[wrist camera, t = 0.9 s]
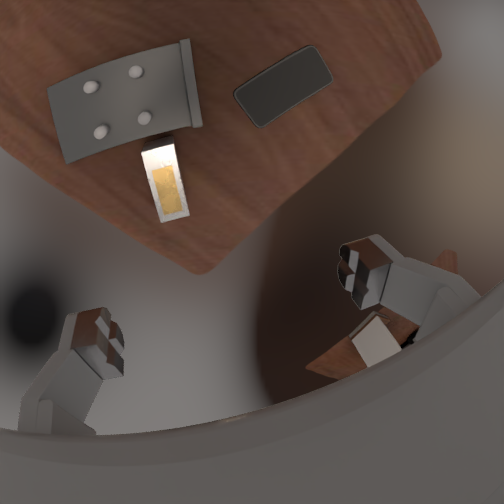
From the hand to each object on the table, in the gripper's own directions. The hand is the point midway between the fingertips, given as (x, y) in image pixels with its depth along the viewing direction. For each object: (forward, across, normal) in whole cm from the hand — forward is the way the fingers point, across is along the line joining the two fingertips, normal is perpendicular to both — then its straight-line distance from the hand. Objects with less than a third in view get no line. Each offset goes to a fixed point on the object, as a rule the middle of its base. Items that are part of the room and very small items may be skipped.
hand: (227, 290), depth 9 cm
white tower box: (+34, -43, +65) cm, 85 cm away
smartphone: (+33, -16, -5) cm, 37 cm away
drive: (+32, +3, +5) cm, 33 cm away
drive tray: (+32, +7, -7) cm, 34 cm away
